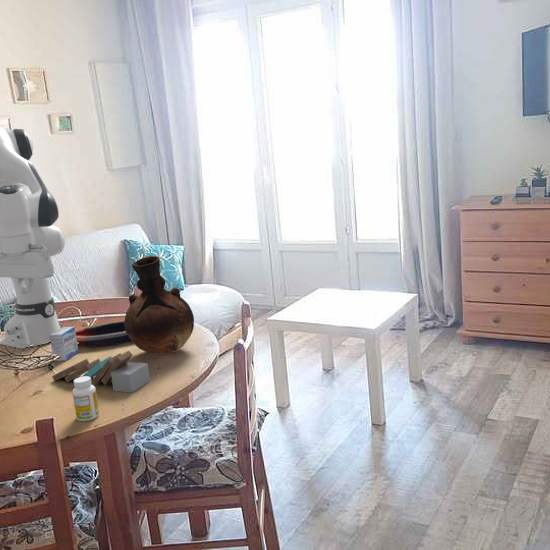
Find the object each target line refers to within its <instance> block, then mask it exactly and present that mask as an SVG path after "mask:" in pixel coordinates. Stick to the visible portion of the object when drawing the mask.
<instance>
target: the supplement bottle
mask: <svg viewBox="0 0 550 550" xmlns="http://www.w3.org/2000/svg"><path fill="white" fill-rule="evenodd" d="M82 376H83V375H82ZM82 376H78V377H76V378H74V379H73V386H74V388H73V390H72V398H73V399H72V400H73V405H74V411H75V416H76V419H77V421H80V422H89V421H91V420H95V419H96V418H98V417H99V415H100V409H99V408H100V407H99V403H98V395H97V389H96V387H95V385H94V384H92V382H91V381H92V378H90V377H89V376H83V377H82Z"/></svg>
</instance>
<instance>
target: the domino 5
mask: <svg viewBox="0 0 550 550" xmlns="http://www.w3.org/2000/svg"><path fill="white" fill-rule="evenodd" d="M132 356H133V353H132V352H131V351H130V350H127V351H125V352H124V353H121V355H120V356H118V357H117V358H116V359H115V361H114V362H113V364H112V365H111V367H110V368H109V370H108V371H107V373H106V374H105V376H104V377H103V379H102V380H101V382H100V383H102V384H103V385H104V386H105V385H108V384H109V383H111V382H112V376H111V373H112V372H113V371H115V370H117V369H119V368H120V367H122V366H124V365H126V364H127V363H129V361H130V360H131V358H132Z"/></svg>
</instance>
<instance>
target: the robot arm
mask: <svg viewBox="0 0 550 550" xmlns="http://www.w3.org/2000/svg"><path fill="white" fill-rule="evenodd" d="M33 151H34V142H33V139H32V138H31V136H30V135H29V134H28V133H27V131H26V130H25V129H23V128H13V129H10V130H9V129H8V130H6V129H5V128H3V127H2V126H0V278H10V279H11V282H12V284H13V288H14V292H15V295H16V300H17V303H16V304H13V305H12V309H15V314H14V315H13V316H12V317H11V318H10V319H9V320H8V321H7V322H6V323H5V324H4V328H3V333H4V336H3V337H1V338H0V345H2V346H7V347H12V348H15V347H16V348H15V349H20V348H21V349H20V350H23V349H22V348H24V349H27V348H26V347H28V346H30V345H32V344H33V347H35V346H34V345H40V344H43V343H46V342H50V336H49V335H51V334H53V333H54V332H56V331H58V330H59V329H61V328H62V327H61V326H60V322H59V319H58V315H57V312H56V310H55V308H56V305H55V300H54V297H53V296H52V290H51V289H52V288H51V283H50V278H51V277H53V276H54V274H55V268H54V264H53V261H52V258H51V257H54V256H56V255H59V254H62V252H63V251H64V249H65V245H66V239H65V236H64V233H63V232H62V230H61V229H60V228H59V227H57V226H56V225H54V224H55V223H56V222H57V220H58V219H59V218H60V217H59V212H60V211H59V205H58V202H57V201H56V199H55V197H54V196H53V194H52V193H51V192H50V191H49V189H48V188H47V186H46V184H45V183H44V180H43V179H42V177H41V175H40V174H39V172H38V170H37V169H36V168H35V166H34V164H33V163H32V162H31V161H30V160H31V158H32V157H33ZM29 191H30V192H31V193H30V192H29ZM12 340H14V341H12ZM40 346H41V345H40ZM28 348H29V347H28Z"/></svg>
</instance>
